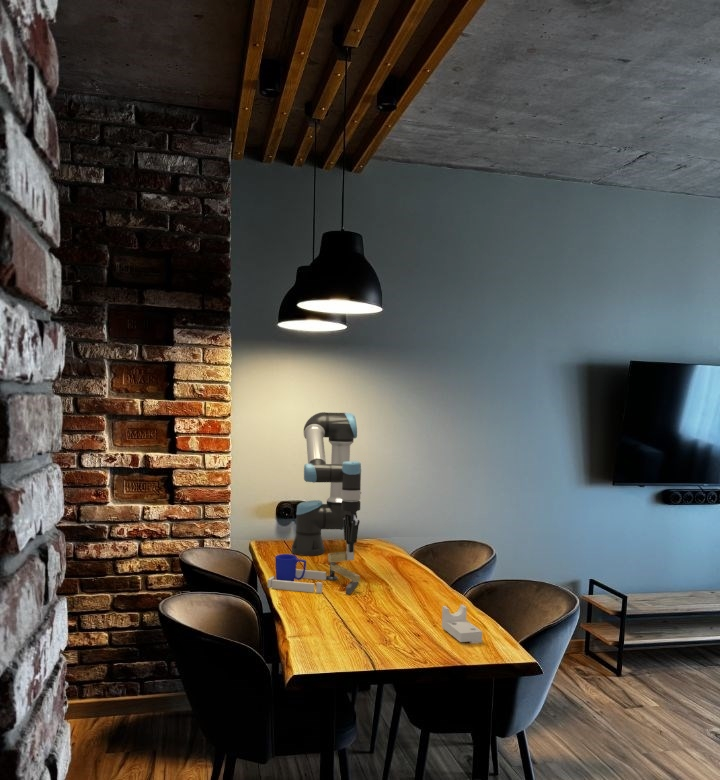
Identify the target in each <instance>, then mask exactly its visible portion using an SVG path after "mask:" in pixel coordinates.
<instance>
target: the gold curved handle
mask: <svg viewBox="0 0 720 780" xmlns="http://www.w3.org/2000/svg"><path fill="white" fill-rule="evenodd" d="M346 556H347V551H340V552H330V553H327V562H329V575H330V577H334V576H336V575H335V574H336V573H337V574H339V575H341V576H342V577H345V578H346V579H349V580H350V581H354V582H358V583H360V582H361V581H360V580H361V575H359V574H357V573H356V572H354V571H351V570H349V569H347V568H345V567H344V566H341V565H339V564H337V562H338V563H339V562H349V561H350V560H346Z"/></svg>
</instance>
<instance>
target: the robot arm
mask: <svg viewBox="0 0 720 780" xmlns="http://www.w3.org/2000/svg"><path fill="white" fill-rule="evenodd" d="M357 437H358V427H357V421H356V416H355V415H354V414H353V413H351V412H350V413H349V412H325V411H324V412H318V413H315V414H314V415H312V416H310V418H308V419H307V421H306V422H305V424H304V427H303V438H304V439H305V441H306V454H307V463H305V464H304V466H303V480H304V481H305V483H313V484H314V483H330V488H329V492H330V493H329V497H328V498H327V499H326V503H323V501H322V500H319V499H317V500H315V499H314V500H313V499H312V500H306V501H302V502H299V503H298V504H297V506H296V513H295V515H296V521H295V524H296V525H295V536H294V540H293V542H292V545H291V553H292V554H293V555H296V556H297V555H298V556H318V555H323V554H324V553H325V546H324V545H325V544H324V542H323V537H322V530H340V531H342V530H343V539H344V541H345V544H346V552H347V556H346V560H349V561H354V560H355V544H356V543H357V541H358V535H359V534H358V533H359V526H360V519H358V515H357V514H358V512H359V511H361V501H360V500H361V495H362V491H361V485H362V484H361V480H362V464H361V462H360V461H358V460H357V461H356V460H355V461H354V460H353V461H352V460H351V459H350V458H351V445H353V443H354V440H355V439H356V438H357ZM324 438H327V439H328V442H329V444H330V445H331V458H330V459H331V461H330V462H331V463H329V464H328V463H327V462H326V451H325V442H324Z"/></svg>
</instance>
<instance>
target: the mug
mask: <svg viewBox="0 0 720 780" xmlns="http://www.w3.org/2000/svg"><path fill="white" fill-rule="evenodd" d="M274 560H275V580H282V581H293V582H295V580H298V581H300V580H302V579H304V578H303V576H304V573H305V570H306V566H307V565H306V564H307V560H305V559H301V558H300V559H299V558H298V557H297V555H296V554H289V553H284V554H283V553H281V554H277V555H275V559H274ZM299 562H300V563H301V562H302V563H303V568H302V570H303V573H302V576H301V577H300V578H297V577H296V569H297V565H298V563H299Z"/></svg>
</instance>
